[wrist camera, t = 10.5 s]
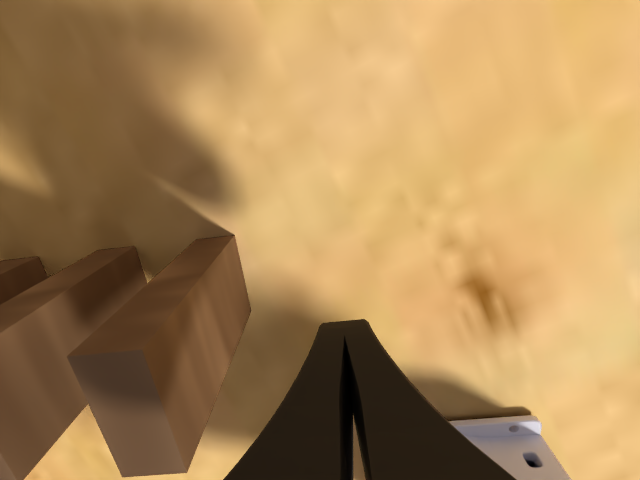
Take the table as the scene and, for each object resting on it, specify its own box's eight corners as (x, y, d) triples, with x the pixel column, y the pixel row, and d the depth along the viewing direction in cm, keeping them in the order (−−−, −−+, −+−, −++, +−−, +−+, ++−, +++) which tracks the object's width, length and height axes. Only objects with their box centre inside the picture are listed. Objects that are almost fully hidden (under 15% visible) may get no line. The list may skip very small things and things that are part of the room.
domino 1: (134, 246, 15) (-54, 367, 8) (159, 319, 17) (20, 484, 9) (97, 250, 15) (-124, 374, 8) (125, 322, 17) (-41, 488, 9)
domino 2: (234, 235, 15) (142, 349, 7) (251, 310, 16) (186, 472, 9) (196, 239, 15) (66, 356, 7) (215, 314, 16) (122, 477, 9)
